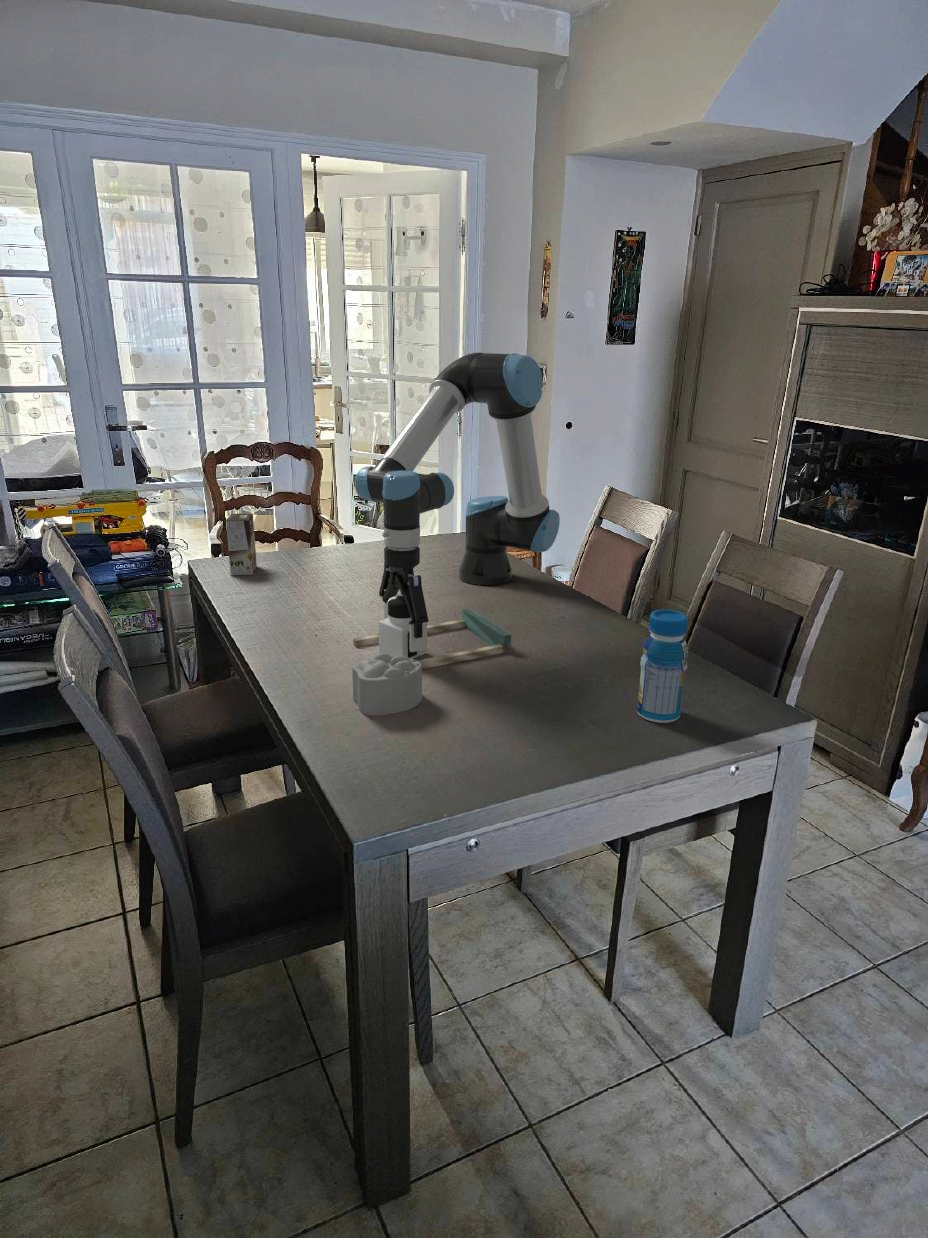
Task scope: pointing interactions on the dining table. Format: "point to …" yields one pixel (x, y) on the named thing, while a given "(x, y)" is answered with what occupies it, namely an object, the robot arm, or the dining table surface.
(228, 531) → the coffee box
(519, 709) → the dining table surface
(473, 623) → the beige u-shaped frame
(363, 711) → the lumpy-topped squat cylinder
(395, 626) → the container
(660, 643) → the beverage bottle
